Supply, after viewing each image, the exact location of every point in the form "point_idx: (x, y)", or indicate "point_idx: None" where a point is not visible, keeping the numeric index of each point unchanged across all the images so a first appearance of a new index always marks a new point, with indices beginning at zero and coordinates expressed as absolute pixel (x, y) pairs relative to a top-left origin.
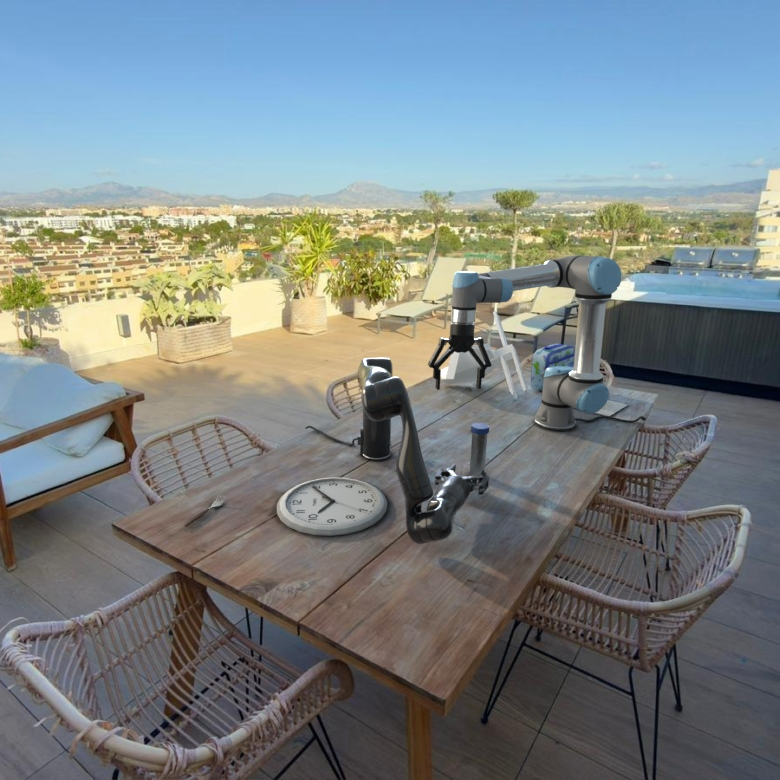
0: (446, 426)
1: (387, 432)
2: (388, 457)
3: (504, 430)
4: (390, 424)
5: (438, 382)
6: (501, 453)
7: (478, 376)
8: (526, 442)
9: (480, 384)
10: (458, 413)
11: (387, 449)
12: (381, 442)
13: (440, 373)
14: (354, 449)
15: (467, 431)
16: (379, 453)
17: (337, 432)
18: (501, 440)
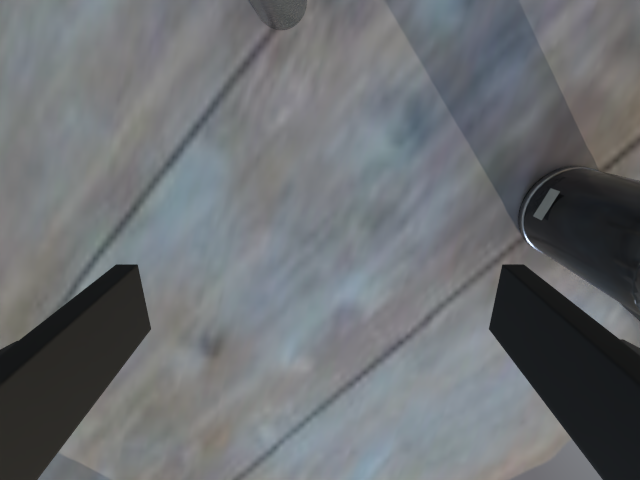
0: (283, 385)
1: (615, 202)
2: (536, 183)
3: None
4: (613, 233)
5: (561, 300)
6: (150, 178)
7: (72, 366)
8: (48, 253)
9: (97, 286)
10: (226, 462)
11: (561, 186)
12: (614, 180)
13: (629, 374)
14: None
15: (227, 348)
16: (588, 172)
17: None
18: None
